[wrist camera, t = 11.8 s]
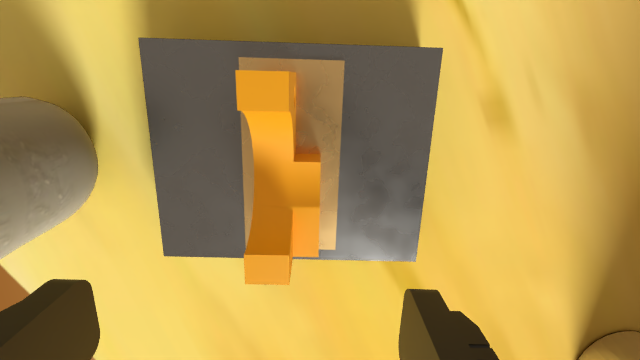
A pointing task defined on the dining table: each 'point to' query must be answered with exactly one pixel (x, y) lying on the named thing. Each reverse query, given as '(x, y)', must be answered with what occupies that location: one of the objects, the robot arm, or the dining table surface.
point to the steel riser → (311, 138)
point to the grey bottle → (40, 169)
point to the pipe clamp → (278, 179)
